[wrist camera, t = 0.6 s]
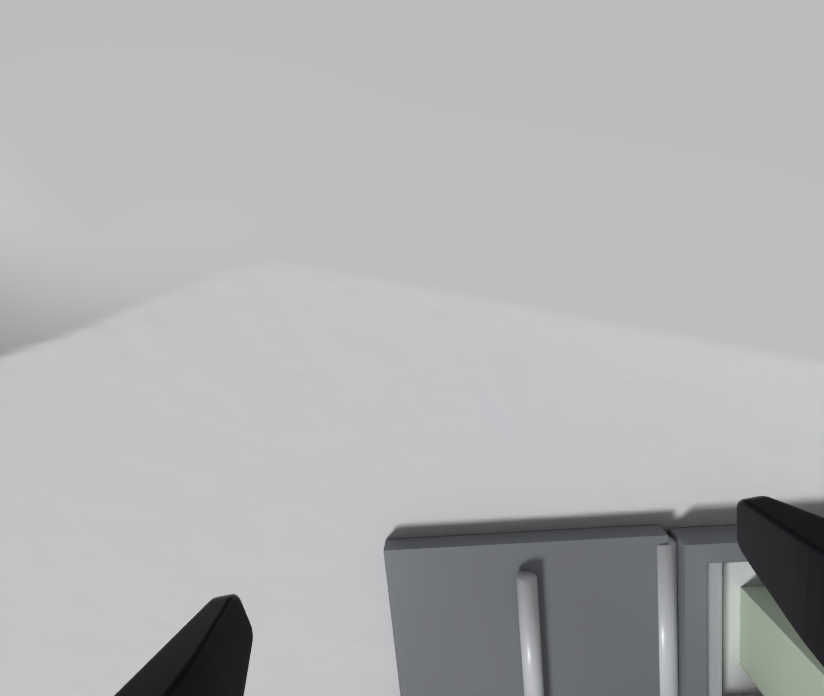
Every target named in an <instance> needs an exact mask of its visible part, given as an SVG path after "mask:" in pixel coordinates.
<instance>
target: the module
mask: <svg viewBox="0 0 824 696" xmlns="http://www.w3.org/2000/svg"><path fill="white" fill-rule="evenodd" d="M740 665H741V666H742V668H743V669H744V670H745V672H746V673H747V674H748V676H749V677H750V678H751V680H752V681H753V682H754V684H755V685H756V686H757V688H758V689H759V690H760V691H761V693H762V694H763V695H764V696H824V667H823V666H822V665H821V663H820V662H819V661H818V660H817V658H816V657H815V656H814V655H813V653H812V652H811V651H810V650H809V648H808V647H807V646H806V645H805V643H804V642H803V641H802V639H801V638H800V637H799V635H798V634H797V632H796V631H795V630H794V628H793V627H792V625H791V624H790V622H789V621H788V620H787V618H786V617H785V615H784V614H783V612H782V611H781V609H780V608H779V606H778V605H777V603H776V602H775V600H774V599H773V598H772V596H771V595H770V593H769V592H768V590H767V589H766V587H765V586H752V587H741V593H740Z"/></svg>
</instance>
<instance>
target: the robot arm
mask: <svg viewBox="0 0 824 696" xmlns="http://www.w3.org/2000/svg"><path fill="white" fill-rule="evenodd" d="M737 541H738V545H739V548H740V550H741V552H742V553H743V555H744V556H745V558H746V559H747V561H748V562H749V564H750V565H751V567H752V568H753V570H754V571H755V573H756V574H757V575H758V577H759V578H760V580H761V581H762V583H763V584H764V586H765V587H766V589H767V590H768V592H769V593H770V595H771V596H772V598H773V599H774V600H775V602H776V603H777V605H778V606H779V608H780V609H781V611H782V612H783V614H784V615H785V617H786V618H787V620H788V621H789V622H790V624H791V625H792V627H793V628H794V630H795V631H796V632H797V634H798V635H799V637H800V638H801V639H802V641H803V642H804V643H805V645H806V646H807V647H808V648H809V650H810V651H811V652H812V653H813V655H814V656H815V657H816V658H817V660H818V661H819V662H820V663H821V665H822V666H823V667H824V518H822V517H820V516H817V515H815V514H812V513H809V512H807V511H804V510H801V509H799V508H796V507H793V506H791V505H788V504H785V503H783V502H780V501H778V500H775V499H772V498H769V497H766V496H758V497H752V498H747V499H742V500H741V501H739V502H738V504H737ZM252 640H253V633H252V627H251V624H250V622H249V619H248V617H247V615H246V612H245V610H244V607H243V605H242V602H241V600H240V598H239V597H238V596H237V595H235V594H230V595H225V596H220V597H216V598H213V599H212V600H211V601H210V602H209V603H208V604H206V605H205V606H204V607H203V608H202V609H201V610H200V611H199V612H198V613H197V614H196V615H195V616H194V617H193V618H192V619H191V620H190V621H189V622H188V623H187V624H186V625H185V626H184V627H183V628H182V629H181V630H180V631H179V632H178V633H177V634H176V635H175V636H174V637H173V638H172V639H171V640H170V641H169V642H168V643H167V644H166V645H165V646H164V647H163V648H162V649H161V650H160V651H159V652H158V653H157V654H156V655H155V656H154V657H153V658H152V659H151V660H150V661H149V662H148V663H147V664H146V665H145V666H144V667H143V668H142V669H141V670H140V671H139V672H138V673H137V674H136V675H135V676H134V677H133V678H132V679H131V680H130V681H129V682H128V683H127V684H126V685H125V686H124V687H123V688H122V689H121V690H119V691H118V692H117V693H116V694H115V695H114V696H244V690H245V684H246V678H247V672H248V665H249V659H250V653H251V647H252Z"/></svg>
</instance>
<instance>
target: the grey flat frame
mask: <svg viewBox="0 0 824 696" xmlns="http://www.w3.org/2000/svg"><path fill="white" fill-rule="evenodd" d="M384 558H385V567H386V575H387V584H388V592H389V601H390V609H391V618H392V626H393V635H394V643H395V652H396V660H397V669H398V677H399V686H400V694H401V696H722V563H728V562H748V561H747V559H746V558H745V556H744V555H743V553H742V552H741V550H740V548H739V545H738V541H737V525H722V526H704V527H685V528H669V535H668V534H667V533H666V532H665V531H664V530H663V528H662V527H661V526H660V525H659V524H657V525H639V526H621V527H603V528H585V529H567V530H549V531H531V532H513V533H495V534H477V535H459V536H441V537H423V538H405V539H387V540H386V542H385V546H384Z"/></svg>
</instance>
